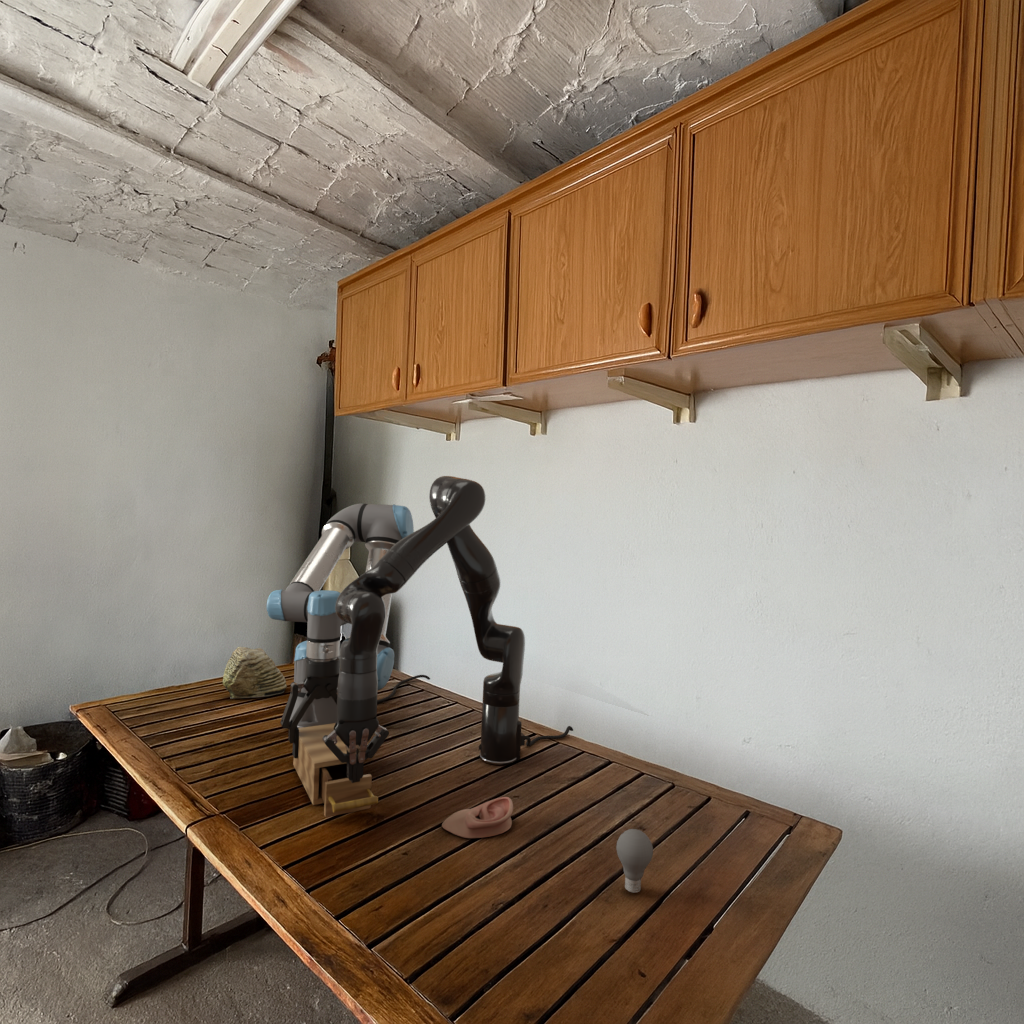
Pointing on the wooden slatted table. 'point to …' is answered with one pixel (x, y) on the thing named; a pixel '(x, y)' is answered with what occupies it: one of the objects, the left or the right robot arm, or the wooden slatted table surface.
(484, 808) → the anatomical model
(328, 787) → the drawer
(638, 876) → the light bulb
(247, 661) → the fossil
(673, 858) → the wooden slatted table surface
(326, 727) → the cabinet
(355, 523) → the left robot arm
